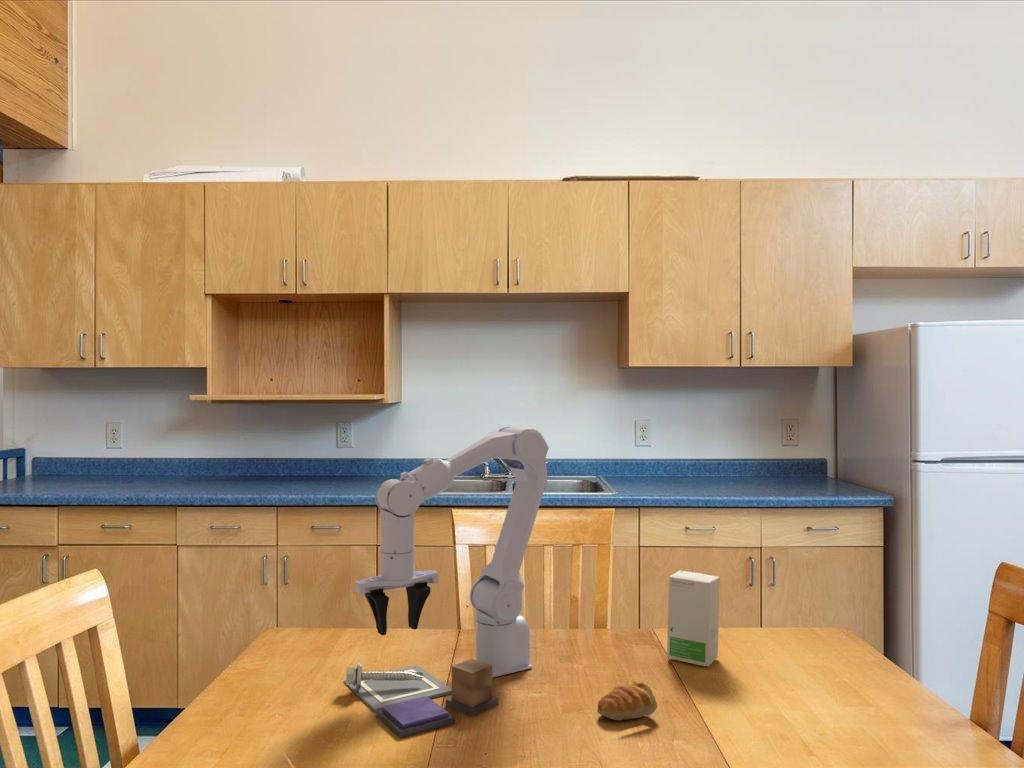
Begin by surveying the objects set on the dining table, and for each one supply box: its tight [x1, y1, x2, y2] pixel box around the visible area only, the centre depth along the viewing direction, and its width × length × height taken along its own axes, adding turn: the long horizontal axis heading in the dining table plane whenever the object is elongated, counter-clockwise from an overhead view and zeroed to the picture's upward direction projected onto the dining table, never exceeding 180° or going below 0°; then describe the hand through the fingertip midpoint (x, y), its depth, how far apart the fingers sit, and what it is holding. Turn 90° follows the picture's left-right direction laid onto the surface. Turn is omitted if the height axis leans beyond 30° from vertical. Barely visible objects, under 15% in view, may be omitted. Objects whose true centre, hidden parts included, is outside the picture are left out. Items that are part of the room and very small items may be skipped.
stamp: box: [445, 658, 499, 718], centre depth 123 cm, size 6×6×6 cm
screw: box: [345, 660, 424, 692], centre depth 129 cm, size 13×5×5 cm, turn 101°
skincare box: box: [666, 569, 721, 667], centre depth 145 cm, size 8×7×16 cm
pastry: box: [596, 681, 658, 721], centre depth 120 cm, size 9×7×4 cm
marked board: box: [343, 664, 452, 713], centre depth 130 cm, size 14×14×1 cm
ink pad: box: [375, 696, 456, 739], centre depth 118 cm, size 9×9×2 cm
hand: (397, 630), depth 130 cm, fingers open, 5 cm apart
